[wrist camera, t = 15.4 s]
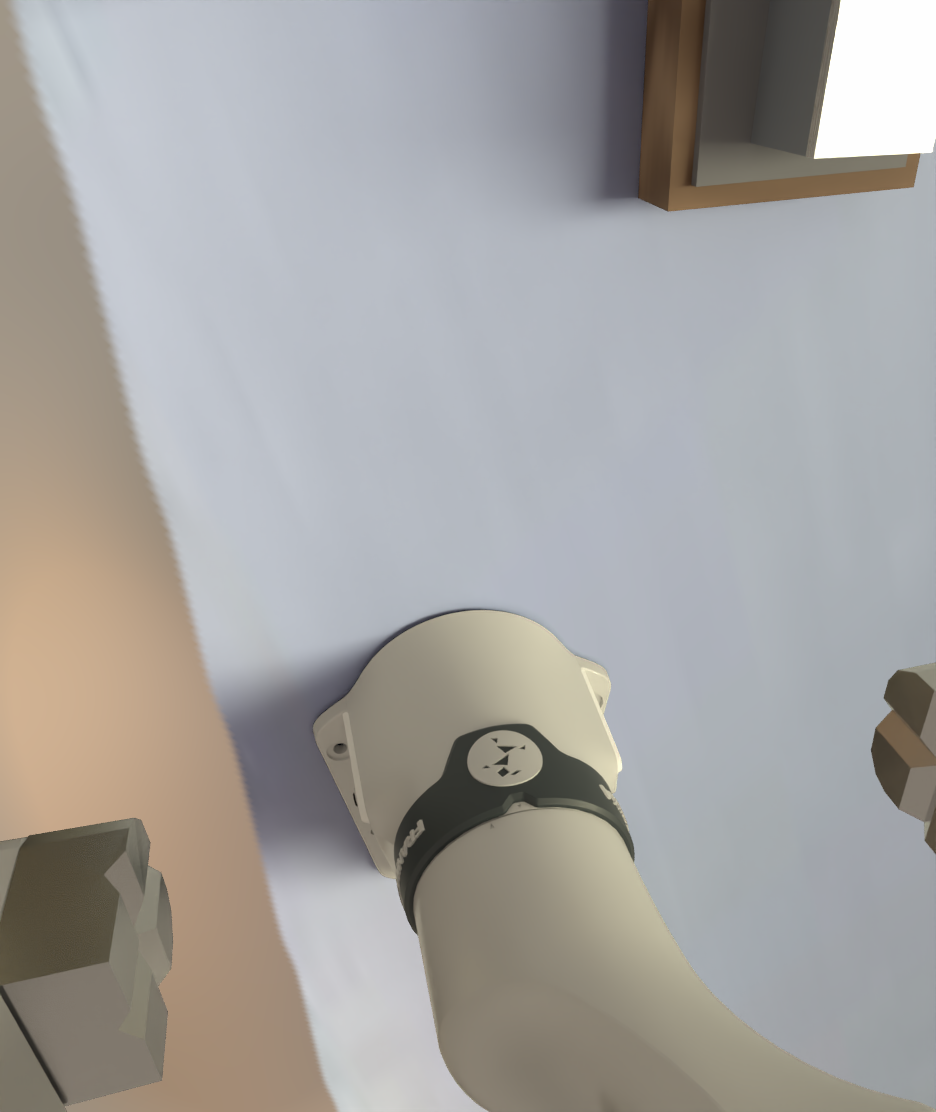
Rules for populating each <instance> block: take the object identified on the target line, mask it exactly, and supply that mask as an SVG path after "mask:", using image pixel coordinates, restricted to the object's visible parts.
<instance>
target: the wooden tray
mask: <svg viewBox="0 0 936 1112" xmlns="http://www.w3.org/2000/svg"><path fill="white" fill-rule="evenodd" d="M769 5H770V0H648V15H647V35H646V55H645V75H644V95H643V115H642V135H641V155H640V175H639V195H638V198H640V199H642V200H644V201H646V202H648V203H651V204H653V205H655V206H657V207H659V208H662V209H664V210H666V211H678V210H688V209H698V208H708V207H718V206H728V205H738V204H748V203H758V202H769V201H779V200H789V199H799V198H809V197H819V196H829V195H839V194H849V193H860V192H870V191H880V190H890V189H900V188H910V187H914V183H915V178H916V173H917V168H918V163H919V158H920V153H909V154H890V155H872V156H853V157H834V158H816V159H814V158H810V157H806V156H801V155H797V154H793V153H789V152H785V151H781V150H777V149H773V148H769V147H765V146H761V145H757V144H753V143H751V136H752V129H753V122H754V115H755V107H756V100H757V93H758V85H759V78H760V71H761V63H762V56H763V49H764V42H765V34H766V27H767V20H768V12H769Z"/></svg>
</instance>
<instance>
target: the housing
mask: <svg viewBox="0 0 936 1112" xmlns="http://www.w3.org/2000/svg"><path fill="white" fill-rule="evenodd" d="M935 136H936V0H770V5H769V12H768V20H767V27H766V34H765V42H764V49H763V56H762V63H761V71H760V78H759V85H758V93H757V100H756V107H755V115H754V122H753V129H752V136H751V143H753V144H757V145H761V146H765V147H769V148H773V149H777V150H781V151H785V152H789V153H793V154H797V155H801V156H806V157H810V158H814V159H816V158H834V157H853V156H872V155H890V154H909V153H928V152H932V149H933V144H934V140H935Z"/></svg>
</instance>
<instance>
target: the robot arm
mask: <svg viewBox="0 0 936 1112" xmlns="http://www.w3.org/2000/svg"><path fill="white" fill-rule="evenodd" d="M610 689H611V682H610V679H609V677H608V674H607V672H606V670H605V669H604V668H603V667H602V666H600V665H598V664H596V663H594V662H592V661H589V660H586V659H584V658H581V657H578V656H575V655H573V654H572V653H571V652H569V651H568V650H567V649H566V648H565V647H564V646H563V645H562V643H561V642H560V641H559V640H558V639H557V638H556V637H555V636H554V635H553V634H552V633H551V632H549V631H548V630H547V629H546V628H544V627H542V626H541V625H539V624H538V623H536V622H534V621H532V620H530V619H527V618H525V617H522V616H519V615H515V614H511V613H507V612H501V611H492V610H473V611H463V612H457V613H452V614H447V615H443V616H440V617H437V618H434V619H431V620H428V621H426V622H423V623H421V624H419V625H416V626H414V627H413V628H411V629H409V630H407V631H405V632H404V633H402V634H400V635H399V636H397V637H396V638H395V639H393V640H392V641H391V642H389V643H388V644H387V645H386V646H384V647H383V648H382V649H381V650H380V651H379V652H378V653H377V654H376V655H375V656H374V657H373V658H372V660H371V661H370V662H369V663H368V665H367V666H366V667H365V669H364V670H363V672H362V673H361V675H360V677H359V678H358V680H357V681H356V683H355V685H354V686H353V688H352V689H351V690H350V692H349V693H348V694H347V695H346V696H345V697H344V698H342V699H341V700H340V701H338V702H337V703H335V704H334V705H333V706H331V707H330V708H329V709H327V710H326V711H325V712H324V713H323V714H322V715H320V716H319V717H318V719H317V720H316V721H315V723H314V725H313V733H314V736H315V740H316V744H317V746H318V748H319V750H320V752H321V754H322V756H323V758H324V760H325V762H326V764H327V766H328V768H329V770H330V772H331V775H332V777H333V779H334V781H335V783H336V785H337V787H338V789H339V791H340V793H341V795H342V797H343V799H344V801H345V803H346V805H347V807H348V810H349V812H350V814H351V816H352V818H353V820H354V822H355V824H356V826H357V828H358V830H359V832H360V834H361V836H362V838H363V840H364V842H365V845H366V847H367V849H368V851H369V853H370V855H371V857H372V859H373V861H374V863H375V865H376V867H377V869H378V871H379V872H380V874H381V875H383V876H384V877H388V878H392V879H396V882H397V887H398V892H399V897H400V900H401V903H402V905H403V908H404V910H405V913H406V916H407V919H408V922H409V924H410V925H411V927H412V929H413V931H414V932H415V933H416V934H417V935H418V938H419V943H420V949H421V954H422V959H423V965H424V970H425V975H426V981H427V986H428V991H429V997H430V1002H431V1007H432V1012H433V1018H434V1023H435V1028H436V1034H437V1039H438V1045H439V1049H440V1052H441V1055H442V1057H443V1060H444V1062H445V1064H446V1066H447V1068H448V1070H449V1072H450V1073H451V1075H452V1077H453V1078H454V1080H455V1082H456V1083H457V1084H458V1085H459V1087H460V1088H461V1089H462V1090H463V1091H464V1092H465V1094H466V1095H468V1096H469V1097H470V1098H471V1099H472V1100H473V1101H474V1102H475V1103H476V1104H478V1105H479V1106H481V1107H482V1108H484V1109H485V1110H487V1111H488V1112H936V1109H934V1108H931V1107H929V1106H927V1105H925V1104H922V1103H920V1102H917V1101H912V1100H907V1099H903V1098H899V1097H895V1096H892V1095H888V1094H884V1093H881V1092H877V1091H874V1090H870V1089H867V1088H864V1087H861V1086H858V1085H856V1084H853V1083H850V1082H848V1081H845V1080H842V1079H839V1078H837V1077H835V1076H833V1075H830V1074H828V1073H826V1072H824V1071H822V1070H820V1069H818V1068H816V1067H813V1066H811V1065H809V1064H807V1063H805V1062H803V1061H802V1060H800V1059H798V1058H797V1057H795V1056H793V1055H791V1054H790V1053H788V1052H786V1051H784V1050H783V1049H781V1048H779V1047H778V1046H776V1045H775V1044H773V1043H772V1042H770V1041H769V1040H767V1039H766V1038H764V1037H763V1036H761V1035H760V1034H758V1033H757V1032H756V1031H754V1030H753V1029H752V1028H751V1027H749V1026H748V1025H747V1024H746V1023H744V1022H743V1021H742V1020H741V1019H739V1018H738V1017H737V1016H736V1015H735V1014H734V1013H732V1012H731V1011H730V1010H729V1009H728V1008H727V1007H726V1006H725V1005H724V1004H723V1003H722V1002H721V1001H720V1000H719V999H718V998H717V997H716V996H715V995H714V994H713V993H712V992H711V991H710V990H709V989H708V988H707V986H706V985H705V984H704V983H703V982H702V980H701V979H700V978H699V977H698V975H697V974H696V973H695V971H694V970H693V968H692V967H691V965H690V964H689V962H688V961H687V959H686V958H685V956H684V955H683V953H682V951H681V950H680V948H679V946H678V945H677V943H676V941H675V940H674V938H673V936H672V935H671V933H670V931H669V930H668V928H667V926H666V924H665V922H664V921H663V919H662V917H661V915H660V913H659V911H658V910H657V908H656V906H655V904H654V902H653V900H652V898H651V896H650V894H649V892H648V890H647V888H646V887H645V885H644V883H643V881H642V879H641V877H640V875H639V872H638V870H637V868H636V866H635V864H634V846H633V842H632V839H631V836H630V833H629V829H628V824H627V821H626V819H625V816H624V814H623V812H622V809H621V807H620V805H619V803H618V801H617V800H616V798H614V796H613V795H612V794H613V793H615V791H616V786H617V784H616V782H617V776H618V773H619V772H620V771H621V770H622V762H621V758H620V755H619V752H618V750H617V747H616V745H615V742H614V740H613V738H612V735H611V733H610V730H609V728H608V725H607V723H606V721H605V718H604V716H603V714H604V711H605V707H606V704H607V700H608V697H609V693H610ZM884 699H885V701H886V702H887V704H888V705H889V707H890V708H891V710H892V711H891V712H890V713H889V714H888V715H887V716H886V717H885V718H884V719H883V720H882V722H881V723H880V724H879V725H878V726H877V727H876V729H875V734H874V738H873V743H872V748H871V753H872V758H873V763H874V768H875V773H876V775H877V777H878V779H879V781H880V783H881V785H882V787H883V789H884V791H885V793H886V794H887V795H888V796H889V798H890V799H891V800H892V801H893V803H894V804H895V805H896V806H897V808H898V809H899V810H901V811H903V812H905V813H907V814H909V815H911V816H913V817H915V818H917V819H919V820H921V821H923V822H924V837H925V842H926V843H927V844H928V845H929V847H930V848H931V849H932V850H933V851H934V853H935V854H936V662H935V663H930V664H925V665H921V666H916V667H911V668H906V669H901V670H898V671H897V672H896V673H895V674H894V675H893V676H892V677H891V678H890V679H889V680H888V684H887V688H886V691H885V695H884ZM339 743H344V744H343V745H340V746H337V745H336V744H339ZM149 849H150V841H149V838H148V836H147V833H146V831H145V828H144V826H143V824H142V821H141V820H139V819H136V818H130V819H125V820H119V821H113V822H107V823H101V824H95V825H89V826H83V827H77V828H72V829H65V830H60V831H53V832H47V833H42V834H36V835H30V836H28V837H25V838H18V839H12V840H6V841H0V1112H67V1111H66V1108H65V1107H64V1106H68V1105H72V1104H75V1103H79V1102H83V1101H87V1100H91V1099H94V1098H98V1097H102V1096H106V1095H109V1094H113V1093H117V1092H121V1091H124V1090H128V1089H132V1088H136V1087H139V1086H143V1085H147V1084H151V1083H154V1082H158V1081H162V1074H163V1062H164V1051H165V1039H166V1026H167V1015H168V1011H167V1008H166V1006H165V1003H164V1001H163V998H162V996H161V993H160V990H159V988H158V986H159V985H160V983H161V982H162V980H163V979H164V978H165V976H166V975H167V974H168V972H169V971H170V969H171V963H172V949H173V933H172V916H171V907H170V903H169V897H168V893H167V888H166V885H165V883H164V879H163V877H162V874H161V872H159V871H157V870H155V869H154V868H152V867H150V866H148V859H149Z"/></svg>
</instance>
